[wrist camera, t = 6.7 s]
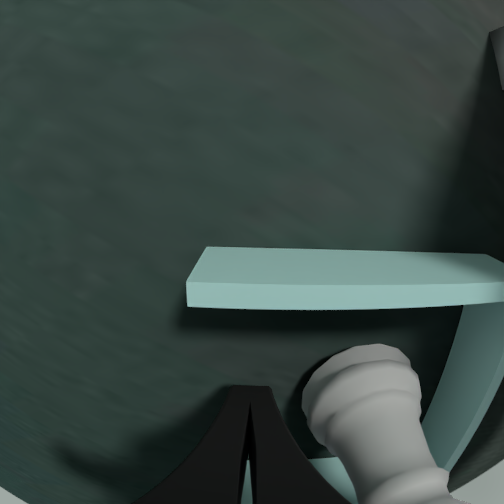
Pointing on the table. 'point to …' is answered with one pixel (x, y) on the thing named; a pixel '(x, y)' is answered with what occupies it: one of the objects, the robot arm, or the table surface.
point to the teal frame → (377, 297)
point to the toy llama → (499, 51)
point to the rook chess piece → (375, 426)
